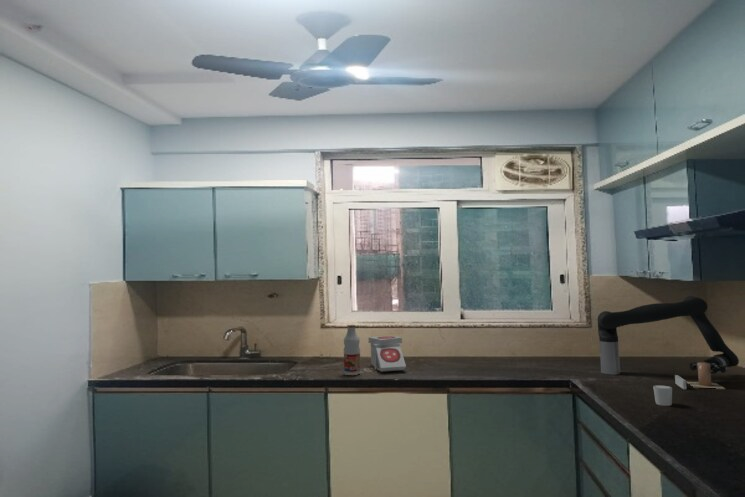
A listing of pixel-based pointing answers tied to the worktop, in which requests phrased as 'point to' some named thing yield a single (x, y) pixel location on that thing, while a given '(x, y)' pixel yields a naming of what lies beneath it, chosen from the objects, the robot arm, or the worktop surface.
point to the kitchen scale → (387, 353)
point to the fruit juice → (351, 351)
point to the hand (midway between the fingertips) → (702, 369)
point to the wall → (680, 382)
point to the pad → (696, 385)
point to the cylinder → (704, 373)
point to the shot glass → (663, 395)
